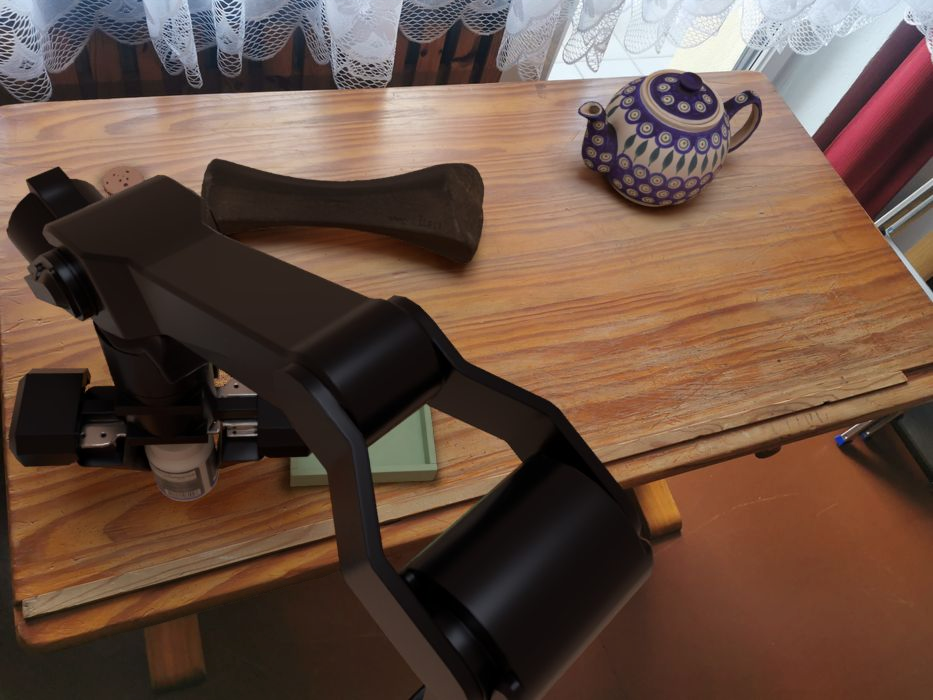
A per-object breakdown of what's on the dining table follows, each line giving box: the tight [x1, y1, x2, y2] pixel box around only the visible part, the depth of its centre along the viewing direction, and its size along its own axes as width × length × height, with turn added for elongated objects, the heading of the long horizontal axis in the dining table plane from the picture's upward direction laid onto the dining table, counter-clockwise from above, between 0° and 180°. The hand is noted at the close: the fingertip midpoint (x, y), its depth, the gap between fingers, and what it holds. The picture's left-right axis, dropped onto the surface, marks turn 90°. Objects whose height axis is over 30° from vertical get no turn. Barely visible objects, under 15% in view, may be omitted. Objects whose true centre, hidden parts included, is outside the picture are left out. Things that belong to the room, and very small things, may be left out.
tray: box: [289, 404, 439, 487], centre depth 69 cm, size 12×12×2 cm
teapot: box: [577, 68, 763, 208], centre depth 89 cm, size 25×15×15 cm, turn 105°
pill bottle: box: [145, 435, 220, 502], centre depth 57 cm, size 5×5×8 cm
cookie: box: [102, 165, 145, 195], centre depth 78 cm, size 4×4×1 cm
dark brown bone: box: [200, 158, 485, 265], centre depth 78 cm, size 11×10×28 cm
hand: (185, 464), depth 59 cm, fingers closed on pill bottle, 5 cm apart
